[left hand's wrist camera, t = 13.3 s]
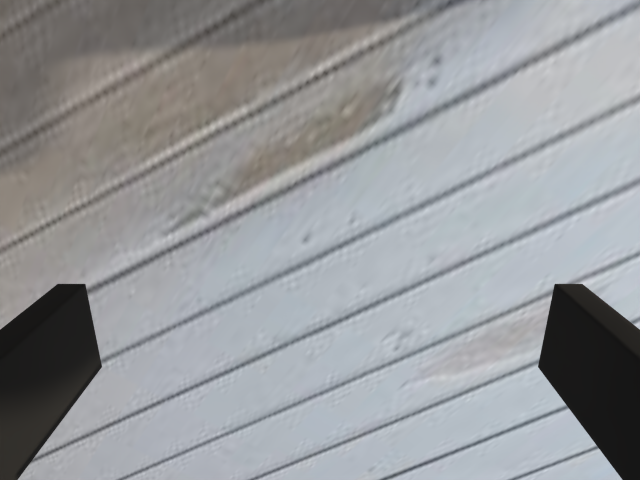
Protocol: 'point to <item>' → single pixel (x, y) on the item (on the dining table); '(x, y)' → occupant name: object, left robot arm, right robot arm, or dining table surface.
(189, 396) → the dining table surface
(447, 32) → the dining table surface
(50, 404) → the left robot arm
